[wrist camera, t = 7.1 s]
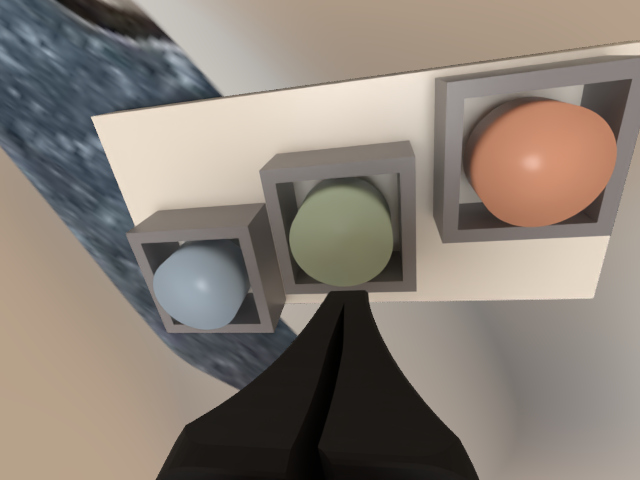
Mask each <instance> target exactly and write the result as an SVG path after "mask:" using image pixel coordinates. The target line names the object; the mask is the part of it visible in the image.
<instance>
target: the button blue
mask: <svg viewBox="0 0 640 480" xmlns="http://www.w3.org/2000/svg"><path fill="white" fill-rule="evenodd" d="M153 288H154V293H155V296H156V298H157V300H158V302H159V303H160V305H161V306H162V307H163V309H164V310H165V311H166V312H167V313H168V314H169V315H170V316H172V317H173V318H174V319H176V320H177V321H179V322H181V323H183V324H185V325H187V326H190V327H193V328H197V329H203V330H211V329H217V328H221V327H223V326H225V325H227V324H228V323H230V322H231V321H232V320H233V318H234V317H235V315H236V313H237V311H238V310H239V308H240V306H241V304H242V302H243V300H244V299H245V297H246V295H247V293H248V291H249V289H250V288H251V284H250V280H249V276H248V273H247V269H246V265H245V261H244V257H243V254H242V250H241V249H240V248H239V247H238V246H237V245H236V244H234V243H233V242H231V241H230V240H228V239H213V240H195V241H185V242H184V243H183V244H182V245H181V246H180V247H179V248H178V249H177V250H176V251H175V252H174V253H173V254H172V255H171V256H170V257H169V258H168V259H167V260H166V261H165V262H164V263H163V264H161V265H160V266H159V268H158V269H157V270H156V272H155V275H154V278H153Z"/></svg>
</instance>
